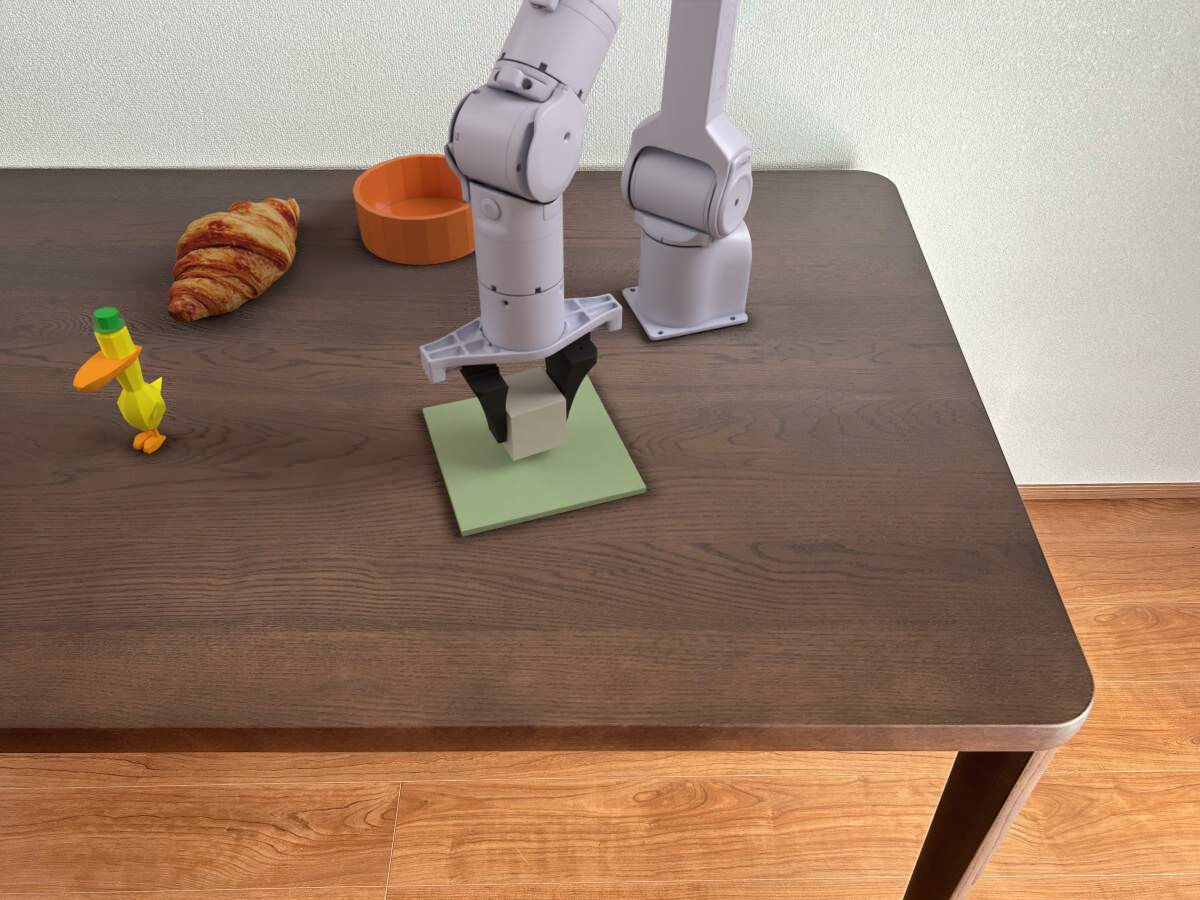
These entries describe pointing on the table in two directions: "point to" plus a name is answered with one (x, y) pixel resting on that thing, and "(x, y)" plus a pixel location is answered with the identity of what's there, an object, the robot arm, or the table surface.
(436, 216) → the bowl
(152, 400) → the toy figure
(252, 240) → the croissant
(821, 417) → the table surface
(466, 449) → the mat
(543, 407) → the block
